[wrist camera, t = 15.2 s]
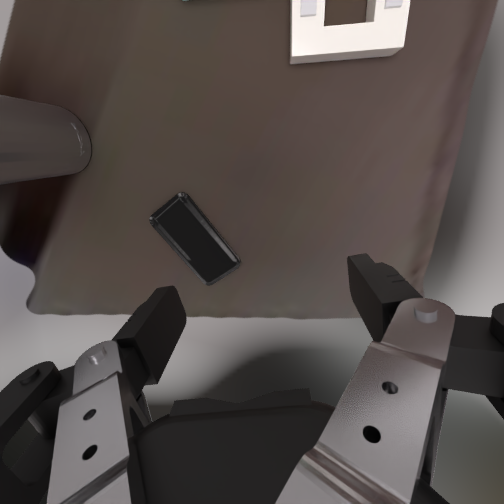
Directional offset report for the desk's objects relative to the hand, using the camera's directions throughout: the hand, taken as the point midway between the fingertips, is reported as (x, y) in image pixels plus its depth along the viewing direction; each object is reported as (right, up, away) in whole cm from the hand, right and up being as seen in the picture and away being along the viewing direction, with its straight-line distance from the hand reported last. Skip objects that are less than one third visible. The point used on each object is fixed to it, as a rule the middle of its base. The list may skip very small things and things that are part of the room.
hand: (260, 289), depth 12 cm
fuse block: (+10, +30, +17) cm, 36 cm away
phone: (-9, +4, +30) cm, 32 cm away
